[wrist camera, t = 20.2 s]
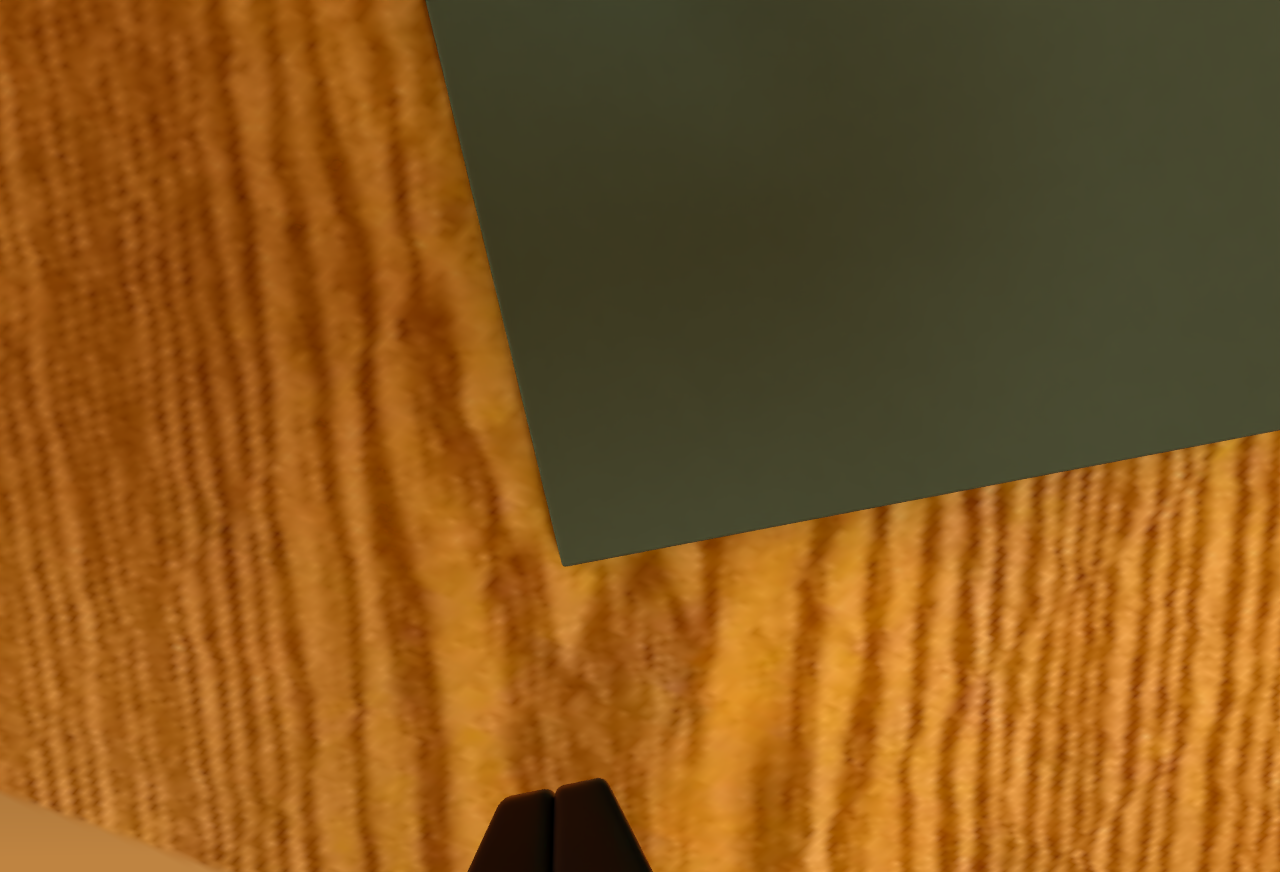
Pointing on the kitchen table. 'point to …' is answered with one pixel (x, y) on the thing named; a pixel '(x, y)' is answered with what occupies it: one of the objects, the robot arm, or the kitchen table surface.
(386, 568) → the kitchen table surface
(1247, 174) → the mat
